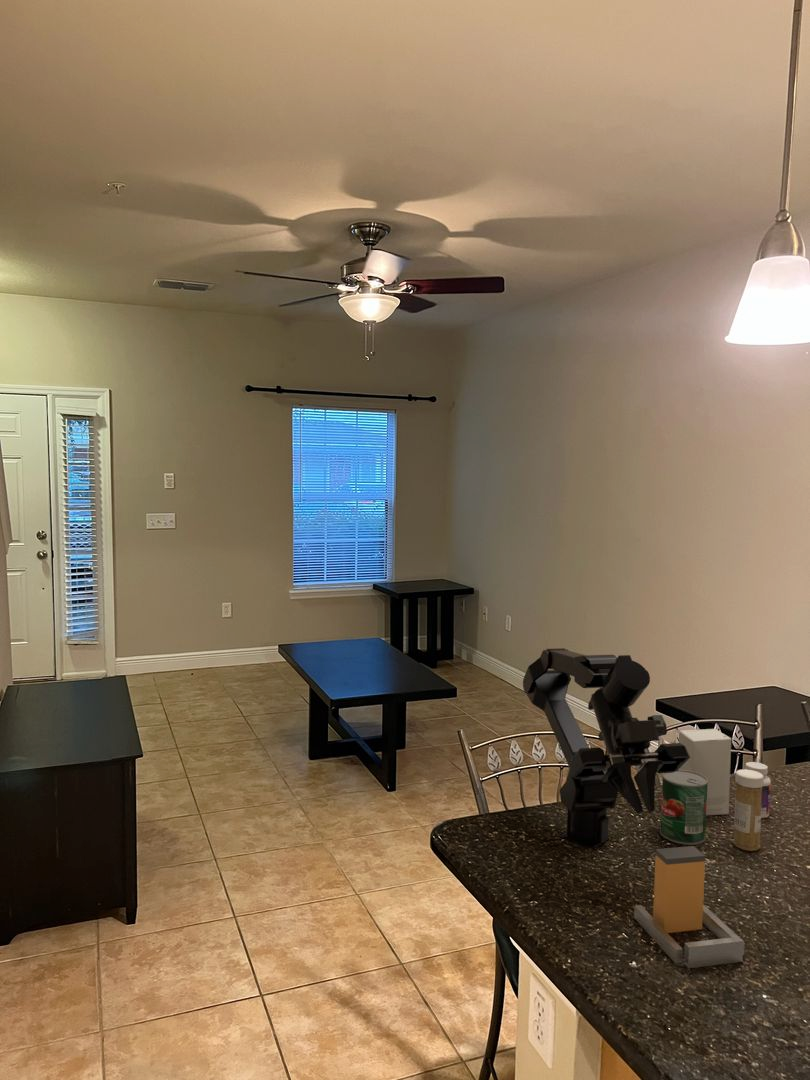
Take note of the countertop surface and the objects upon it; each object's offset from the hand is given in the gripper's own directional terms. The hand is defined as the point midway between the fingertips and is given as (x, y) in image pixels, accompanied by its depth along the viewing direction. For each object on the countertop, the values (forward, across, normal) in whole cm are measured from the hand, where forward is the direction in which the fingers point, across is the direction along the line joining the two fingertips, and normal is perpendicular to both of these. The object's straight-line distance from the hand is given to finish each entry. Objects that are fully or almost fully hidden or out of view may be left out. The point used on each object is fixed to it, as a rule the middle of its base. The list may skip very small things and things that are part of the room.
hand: (646, 812), depth 118 cm
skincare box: (-10, +29, +30) cm, 43 cm away
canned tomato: (-3, +18, +23) cm, 30 cm away
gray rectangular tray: (+17, 0, +2) cm, 17 cm away
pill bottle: (-8, +38, +28) cm, 48 cm away
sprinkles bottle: (+1, +27, +19) cm, 33 cm away
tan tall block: (+16, 0, +2) cm, 16 cm away
